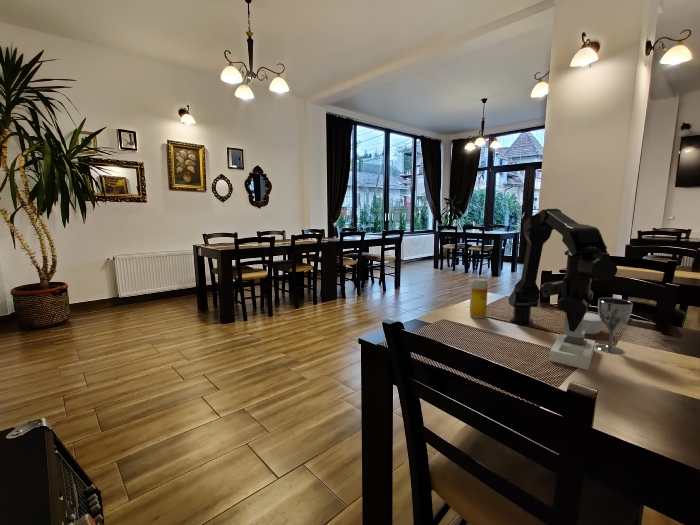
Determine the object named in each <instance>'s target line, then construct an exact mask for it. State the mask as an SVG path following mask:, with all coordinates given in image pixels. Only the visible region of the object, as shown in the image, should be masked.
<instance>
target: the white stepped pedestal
mask: <svg viewBox="0 0 700 525" xmlns="http://www.w3.org/2000/svg"><path fill="white" fill-rule="evenodd" d="M585 336H586V334H585V331H582V335H581V338H578V337H573V336H568V335H563V333H559V335H558V336H557V338H556V340H555V342H554V344H553V345H552V346H551V348H550V351H549V361H550V362H553V363H557V364H562V365H566V366H571V367H575V368H578V369H582V370H587V371H588V370H589V369H590V365H591V363H592V359H593V355H594V353H595V352H594V351H595V348H596V347H595V346H596V340H592V339H588V338H586V337H585Z"/></svg>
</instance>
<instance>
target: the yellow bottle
mask: <svg viewBox="0 0 700 525" xmlns="http://www.w3.org/2000/svg"><path fill="white" fill-rule="evenodd" d="M488 285H489V283H488V279H487V278H482V277H477V278H476V277H474V278H472V279H471V282H470V296H469V297H470V298H469V300H470V301H469V315H470V316H471V318H474V319H484V318H485V317H486V316H487V304H488V303H487V302H488V301H487V300H488V287H489V286H488Z"/></svg>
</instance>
